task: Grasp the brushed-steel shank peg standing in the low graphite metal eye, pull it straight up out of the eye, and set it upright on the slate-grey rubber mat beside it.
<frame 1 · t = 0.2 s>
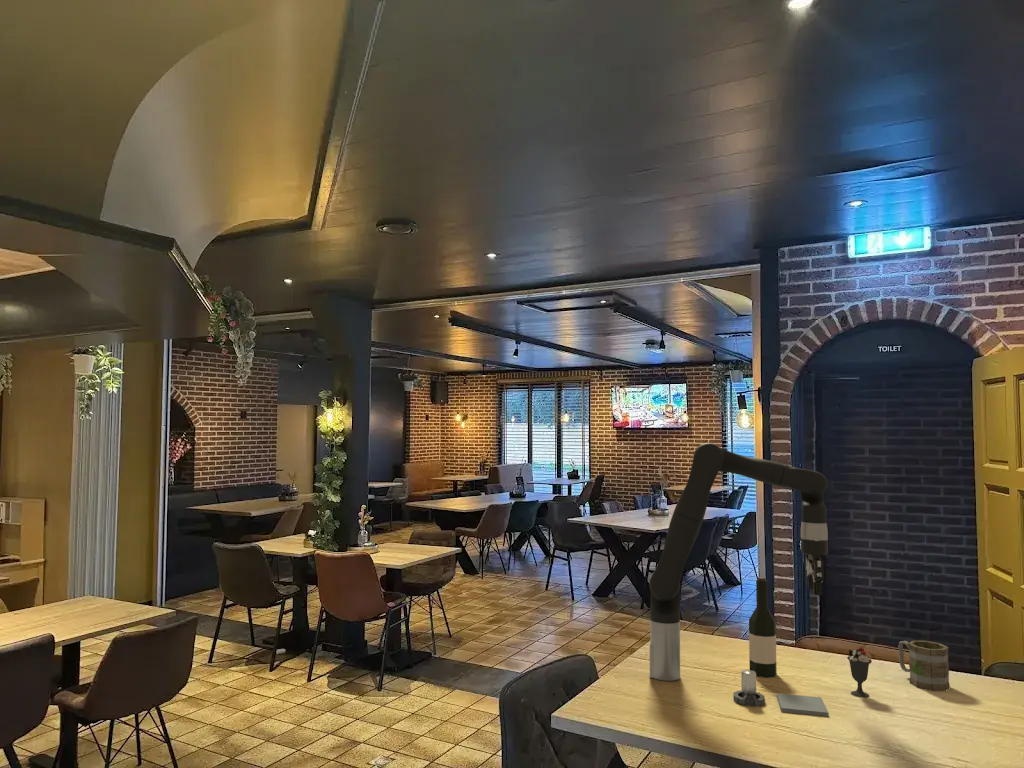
hand: (814, 592, 215), 29 cm above the table, fingers open, 8 cm apart
mug: (922, 683, 221), on the table
steel shank: (748, 686, 204), in the metal eye
slate mat: (801, 706, 200), on the table
metal eye: (749, 701, 204), on the table
wine bottle: (763, 674, 228), on the table
sundae: (860, 695, 210), on the table
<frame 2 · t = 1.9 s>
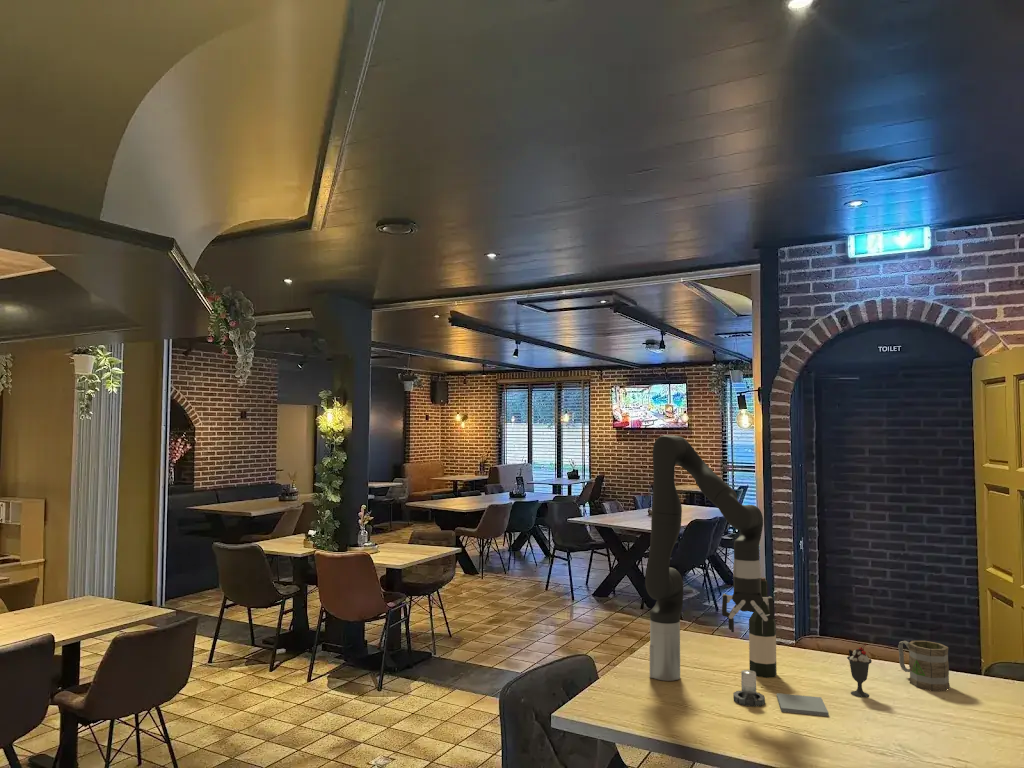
hand: (748, 632, 205), 19 cm above the table, fingers open, 8 cm apart
nothing on the table moved.
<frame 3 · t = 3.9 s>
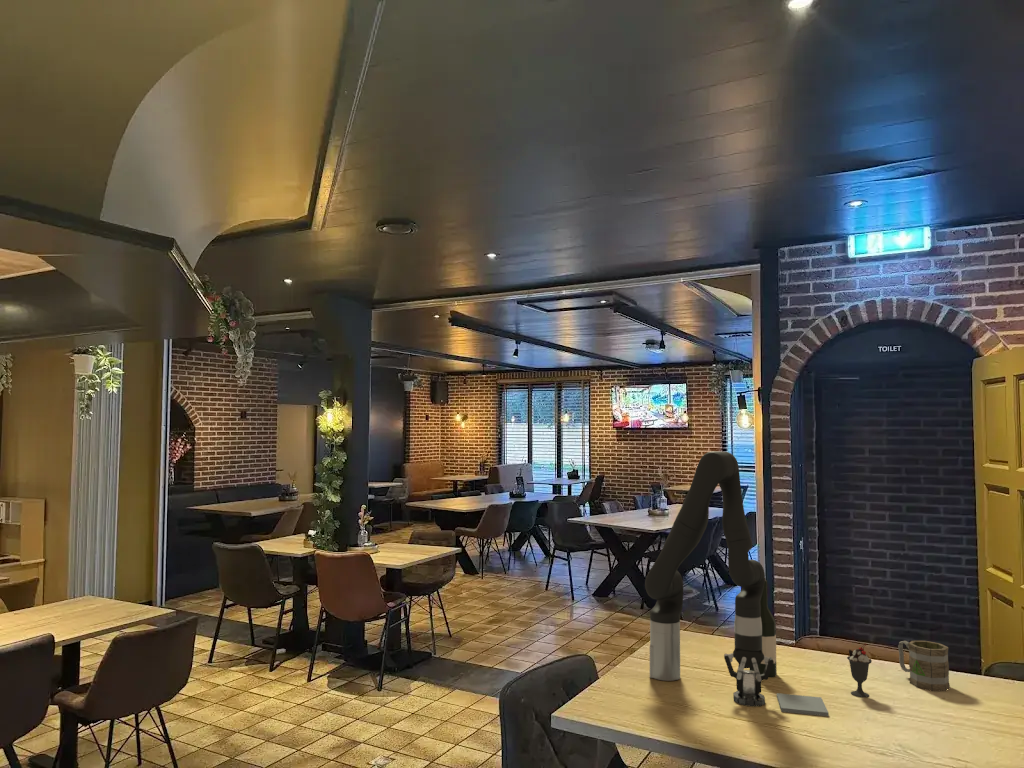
hand: (749, 692, 204), 2 cm above the table, fingers closed on steel shank, 4 cm apart
steel shank: (748, 686, 204), in the metal eye, touching gripper
everything else where it was.
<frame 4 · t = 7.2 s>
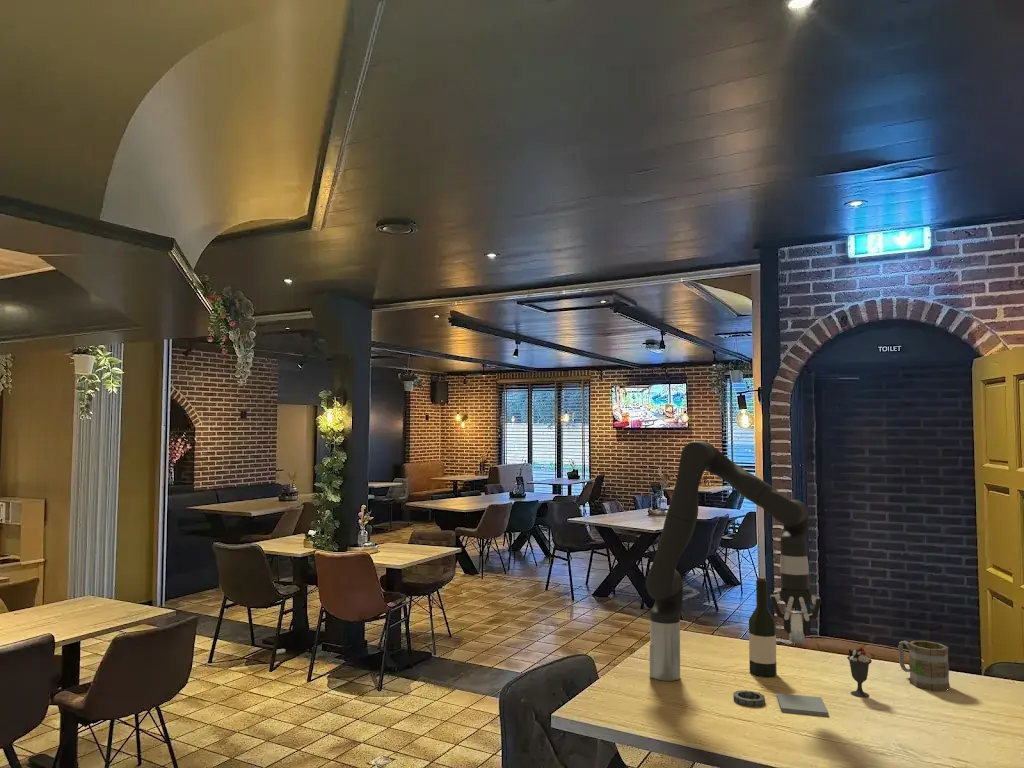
hand: (796, 633, 202), 20 cm above the table, fingers closed on steel shank, 4 cm apart
steel shank: (796, 626, 202), point 22 cm above the table, touching gripper
everything else where it was.
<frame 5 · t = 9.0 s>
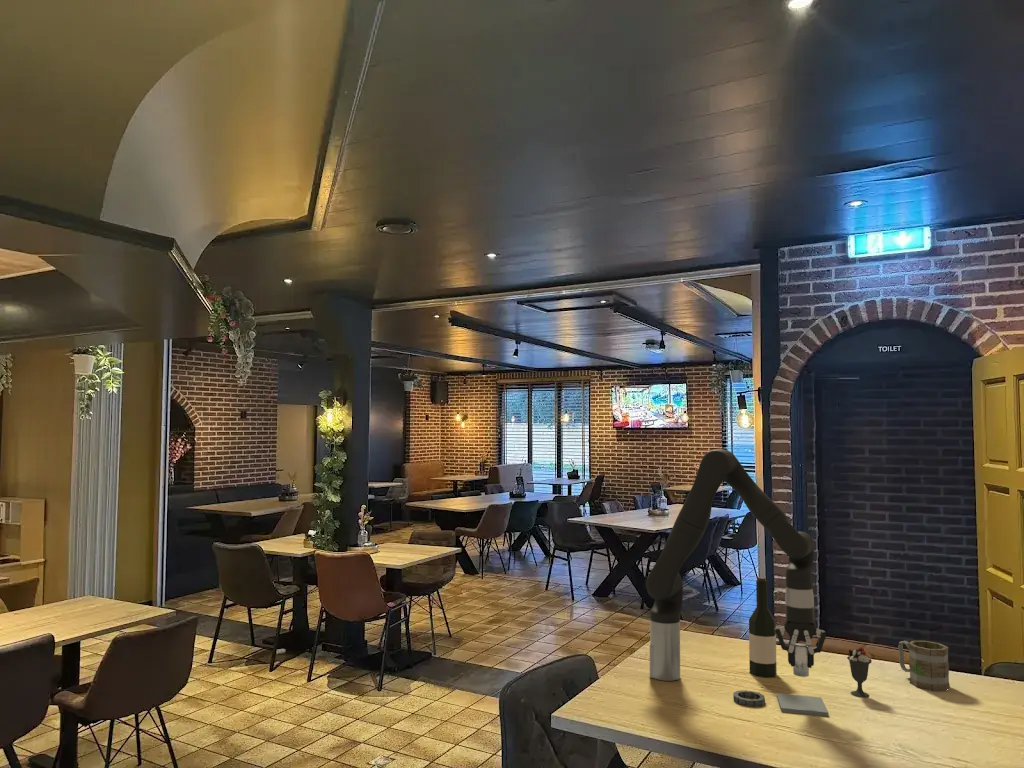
hand: (801, 666, 201), 11 cm above the table, fingers closed on steel shank, 4 cm apart
steel shank: (800, 659, 201), point 13 cm above the table, touching gripper
everything else where it was.
when the fingers open (4 cm above the table, at t = 10.6 s): steel shank stays where it is, resting on slate mat.
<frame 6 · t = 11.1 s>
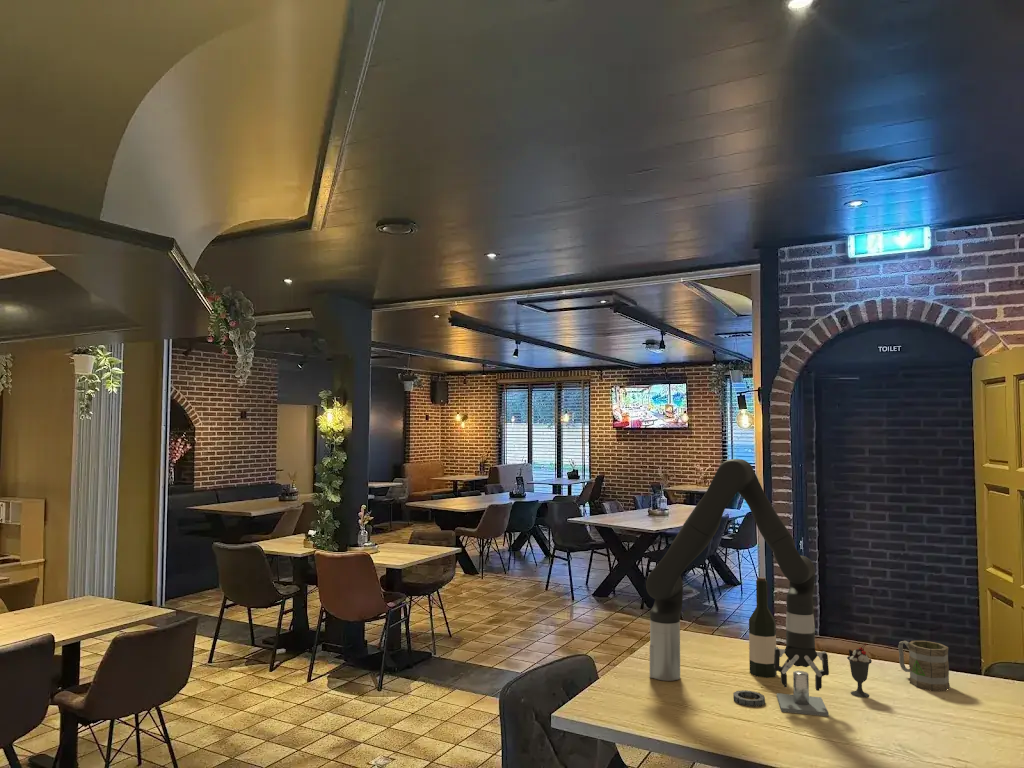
hand: (801, 688, 201), 5 cm above the table, fingers open, 8 cm apart
steel shank: (801, 687, 201), on the slate mat, point 5 cm above the table
everything else where it was.
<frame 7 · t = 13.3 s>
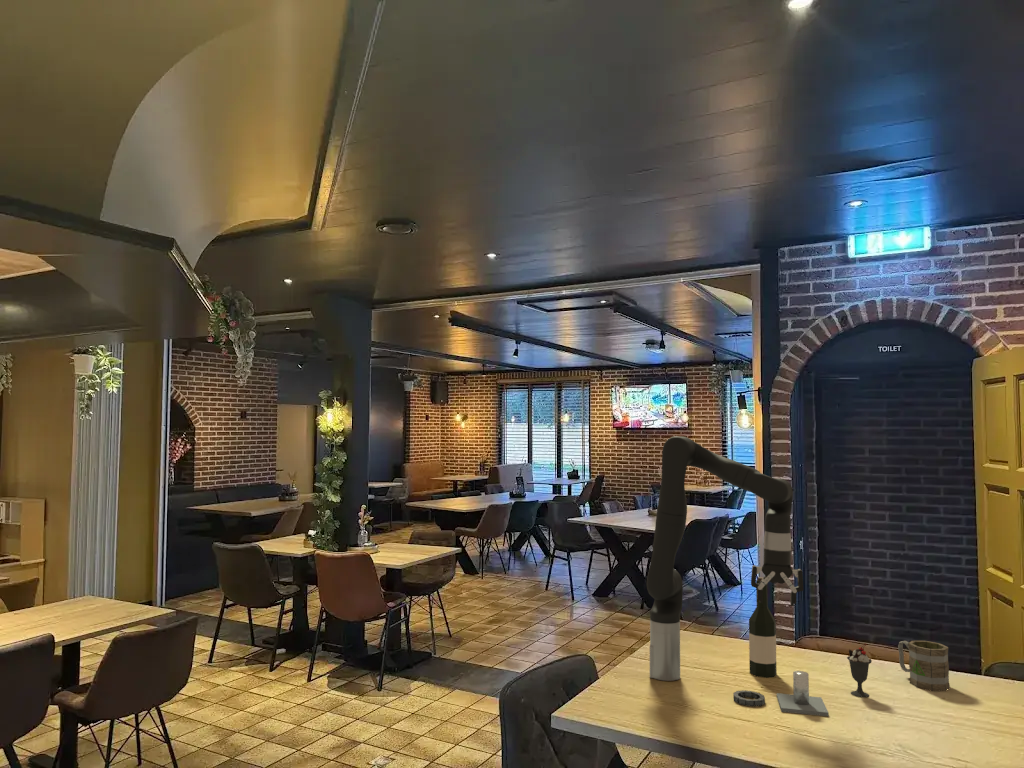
hand: (776, 603, 209), 27 cm above the table, fingers open, 8 cm apart
nothing on the table moved.
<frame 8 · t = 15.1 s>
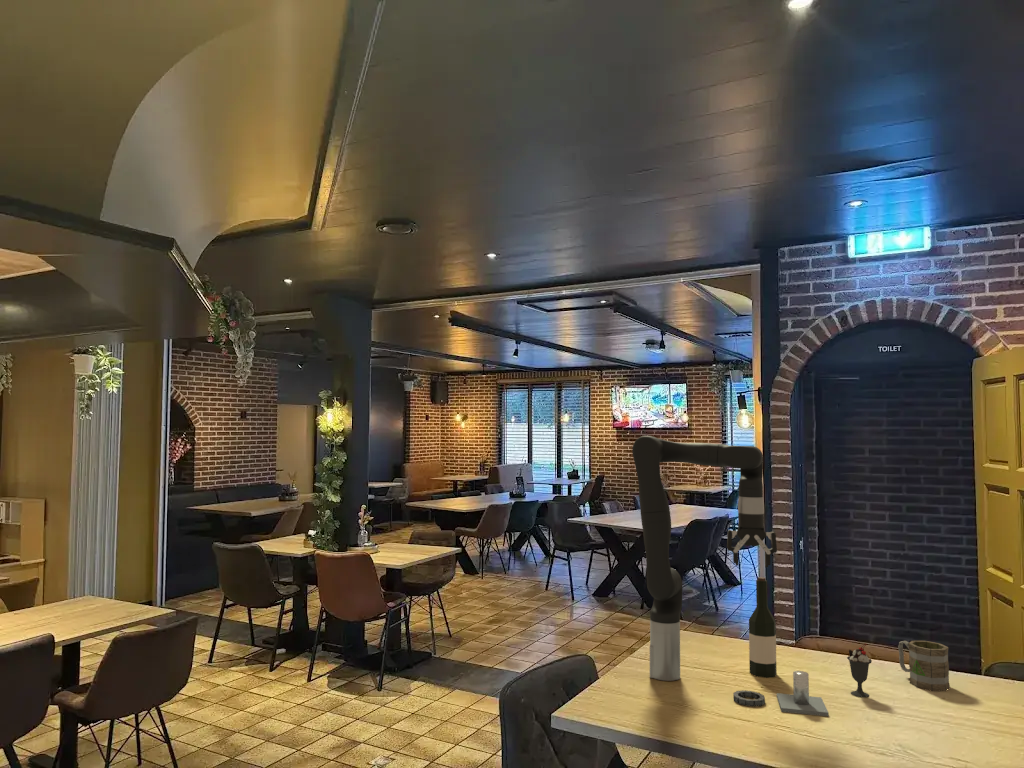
hand: (751, 565, 217), 36 cm above the table, fingers open, 8 cm apart
nothing on the table moved.
at the end: steel shank inside the target area on the slate mat (0.1 cm from its centre), point 5.0 cm above the slate mat's base; steel shank tilted 0°; the gripper is holding nothing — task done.
